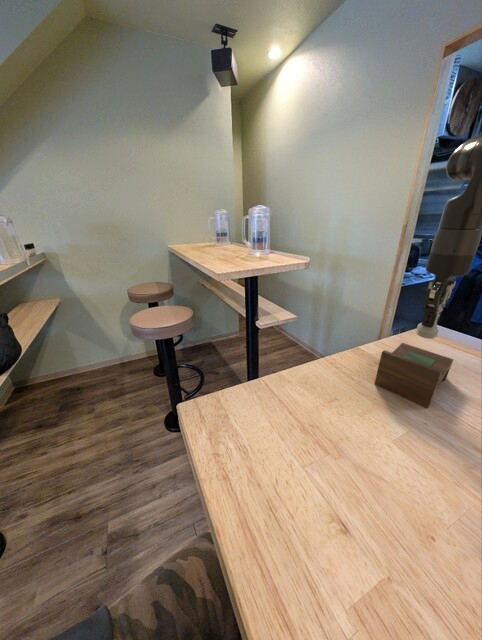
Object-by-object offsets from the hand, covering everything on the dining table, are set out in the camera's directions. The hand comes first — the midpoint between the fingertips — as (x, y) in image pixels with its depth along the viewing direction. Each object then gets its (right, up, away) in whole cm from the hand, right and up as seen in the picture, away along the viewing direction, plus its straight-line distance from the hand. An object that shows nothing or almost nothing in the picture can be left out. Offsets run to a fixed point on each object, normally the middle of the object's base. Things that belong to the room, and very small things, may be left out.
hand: (429, 323), depth 60 cm
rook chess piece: (0, -3, +1) cm, 3 cm away
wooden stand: (0, -15, +6) cm, 17 cm away
